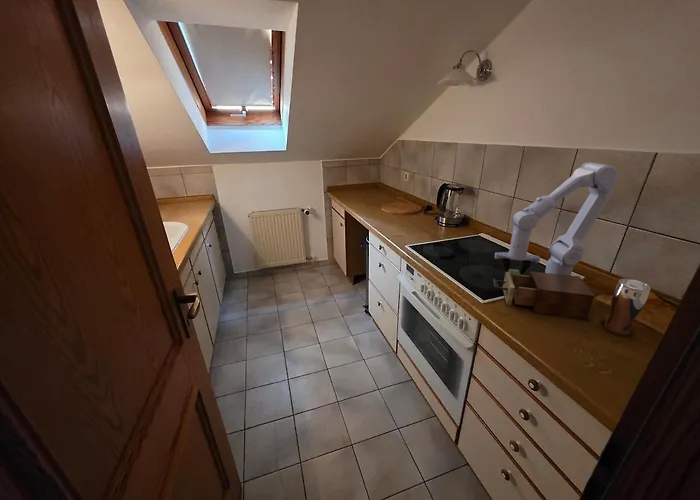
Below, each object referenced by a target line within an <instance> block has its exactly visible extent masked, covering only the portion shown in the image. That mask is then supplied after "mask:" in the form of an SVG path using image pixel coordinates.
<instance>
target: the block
mask: <svg viewBox="0 0 700 500" xmlns="http://www.w3.org/2000/svg"><path fill="white" fill-rule="evenodd" d="M508 272H510V275H511V278H512V280H513V275H514V274H519V275H520V272H519V269H516V268H509V270H508Z"/></svg>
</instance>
